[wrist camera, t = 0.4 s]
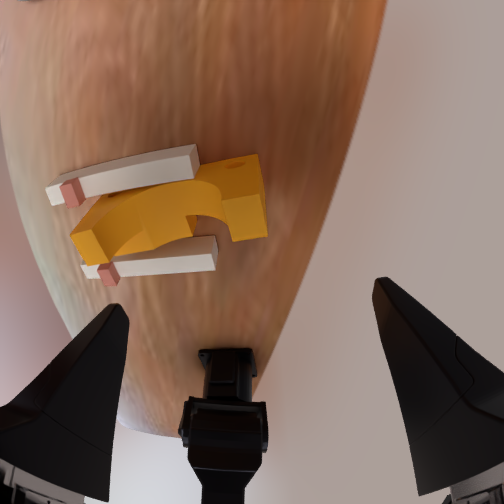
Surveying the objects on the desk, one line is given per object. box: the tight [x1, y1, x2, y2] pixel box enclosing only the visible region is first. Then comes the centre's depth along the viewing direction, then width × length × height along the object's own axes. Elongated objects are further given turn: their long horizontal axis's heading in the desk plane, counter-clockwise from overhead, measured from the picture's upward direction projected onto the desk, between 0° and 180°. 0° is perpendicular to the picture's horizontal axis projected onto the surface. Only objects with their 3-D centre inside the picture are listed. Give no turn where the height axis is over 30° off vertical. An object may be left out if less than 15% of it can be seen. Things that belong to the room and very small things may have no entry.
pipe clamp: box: [70, 154, 268, 266], centre depth 19 cm, size 12×4×6 cm, turn 101°
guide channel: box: [45, 144, 218, 286], centre depth 21 cm, size 9×12×3 cm
